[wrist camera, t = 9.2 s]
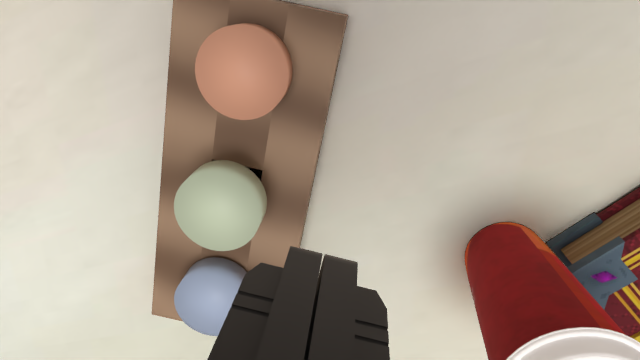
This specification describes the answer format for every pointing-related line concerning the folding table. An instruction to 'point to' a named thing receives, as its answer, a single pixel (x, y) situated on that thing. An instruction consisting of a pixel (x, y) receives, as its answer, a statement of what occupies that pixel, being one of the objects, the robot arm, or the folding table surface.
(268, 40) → the terracotta button
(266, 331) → the robot arm
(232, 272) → the blue button
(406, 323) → the folding table surface
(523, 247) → the paper cup
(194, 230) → the sage button
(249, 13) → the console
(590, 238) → the decorative book
